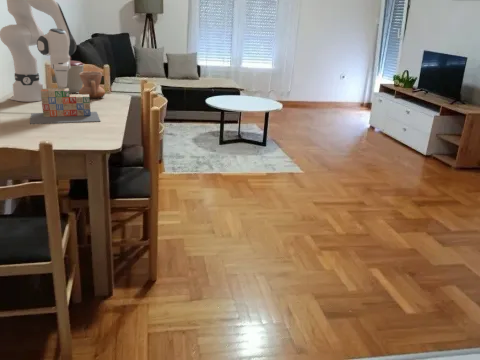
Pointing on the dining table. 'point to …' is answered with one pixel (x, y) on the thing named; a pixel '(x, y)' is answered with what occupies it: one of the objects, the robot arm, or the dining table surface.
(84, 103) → the stack of blocks
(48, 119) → the charcoal mat
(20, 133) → the dining table surface
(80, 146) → the dining table surface
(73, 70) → the canister
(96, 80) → the ceramic jug
